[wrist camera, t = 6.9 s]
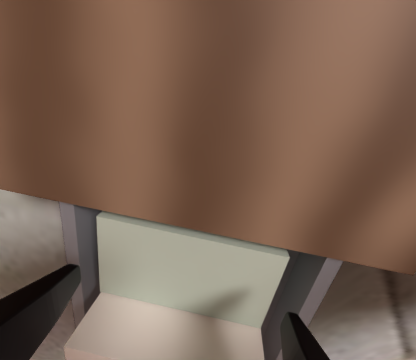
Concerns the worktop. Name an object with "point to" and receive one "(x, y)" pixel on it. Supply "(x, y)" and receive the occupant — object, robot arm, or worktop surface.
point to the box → (281, 303)
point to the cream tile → (158, 334)
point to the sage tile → (188, 268)
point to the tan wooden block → (220, 117)
